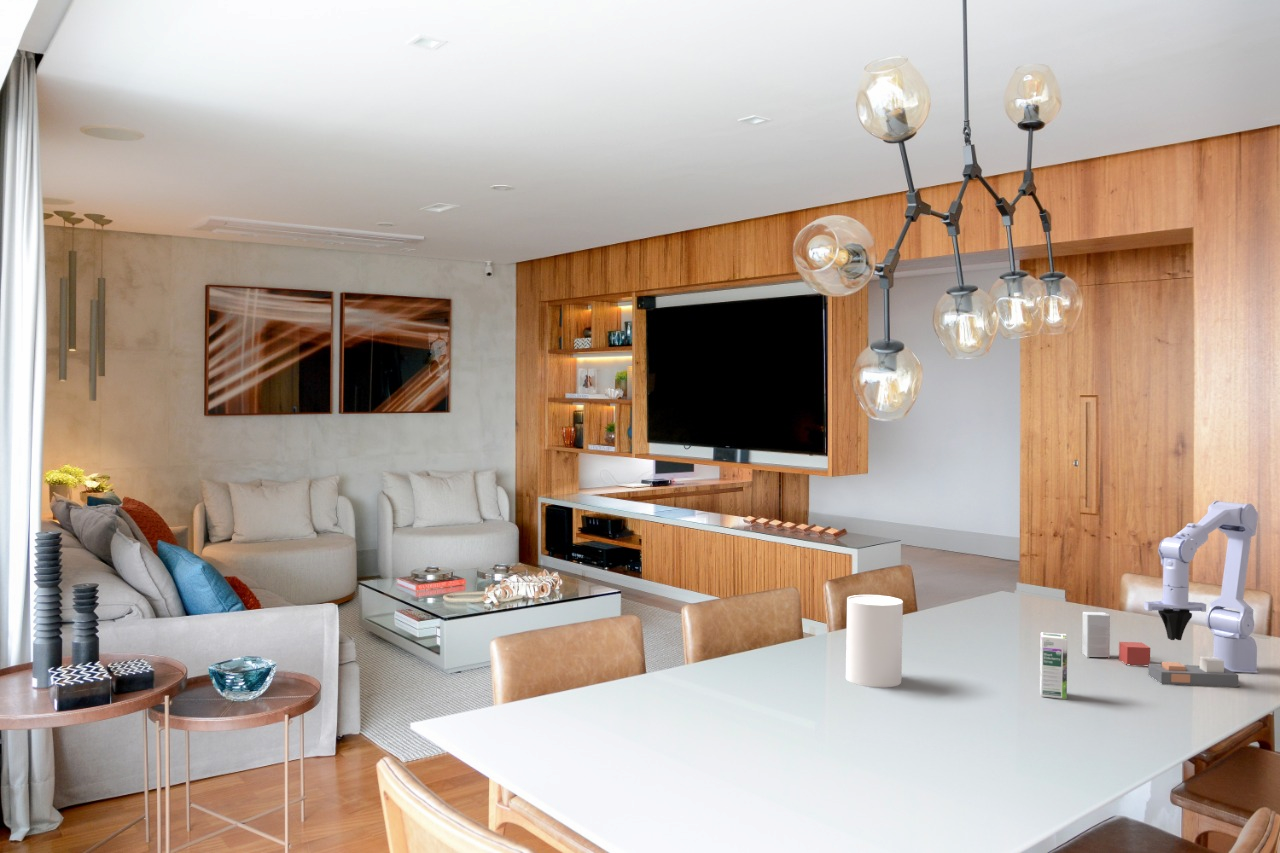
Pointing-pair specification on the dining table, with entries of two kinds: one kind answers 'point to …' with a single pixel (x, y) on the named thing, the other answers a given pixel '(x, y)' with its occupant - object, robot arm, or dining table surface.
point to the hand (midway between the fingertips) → (1174, 639)
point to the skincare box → (1096, 634)
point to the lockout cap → (1134, 653)
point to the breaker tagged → (1173, 666)
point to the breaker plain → (1212, 664)
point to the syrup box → (1053, 665)
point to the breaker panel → (1193, 676)
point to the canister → (874, 640)
